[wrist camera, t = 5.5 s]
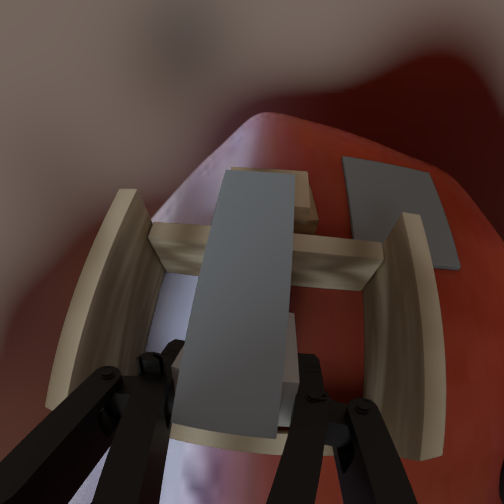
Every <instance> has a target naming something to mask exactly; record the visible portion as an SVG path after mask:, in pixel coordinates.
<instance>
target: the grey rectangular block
mask: <svg viewBox="0 0 504 504" xmlns="http://www.w3.org/2000/svg"><path fill="white" fill-rule="evenodd" d="M294 201H295V174H285V173H272V172H258V171H240V170H226V171H225V175H224V178H223V182H222V186H221V189H220V193H219V197H218V201H217V204H216V208H215V212H214V216H213V220H212V224H211V228H210V232H209V236H208V240H207V244H206V248H205V252H204V256H203V261H202V265H201V269H200V274H199V278H198V282H197V287H196V291H195V296H194V300H193V305H192V310H191V314H190V319H189V324H188V329H187V334H186V339H185V344H184V349H183V354H182V359H181V365H180V370H179V376H178V381H177V387H176V393H175V398H174V404H173V410H172V417H171V423H174V424H178V425H183V426H187V427H192V428H197V429H202V430H208V431H213V432H219V433H226V434H233V435H240V436H248V437H258V438H269V439H276V437H277V429H278V421H279V412H280V403H281V394H282V384H283V374H284V364H285V353H286V341H287V329H288V316H289V302H290V286H291V270H292V251H293V229H294Z"/></svg>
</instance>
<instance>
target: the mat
mask: <svg viewBox="0 0 504 504" xmlns="http://www.w3.org/2000/svg"><path fill="white" fill-rule="evenodd" d="M342 164H343V170H344V177H345V183H346V190H347V197H348V205H349V213H350V222H351V231H352V239H354V240H363V241H372V242H380V243H382V245H383V243H384V241H385V240H386V238H387V237H388V235H389V233H390V232H391V230H392V228H393V227H394V225H395V223H396V222H397V220H398V218H399V217H400V215H401V213H402V212H405V213H411V214H417V215H420V216H421V220H422V223H423V227H424V231H425V235H426V239H427V243H428V247H429V251H430V255H431V260H432V264H433V268H440V269H451V270H459V269H460V268H461V266H460V262H459V259H458V255H457V251H456V247H455V244H454V240H453V237H452V234H451V231H450V227H449V224H448V221H447V218H446V215H445V212H444V210H443V207H442V204H441V201H440V199H439V196H438V193H437V191H436V188H435V186H434V183H433V181H432V179H431V176H430V174H429V173H427V172H423V171H419V170H414V169H410V168H405V167H401V166H396V165H391V164H386V163H381V162H375V161H370V160H364V159H358V158H352V157H345V156H342Z"/></svg>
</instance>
